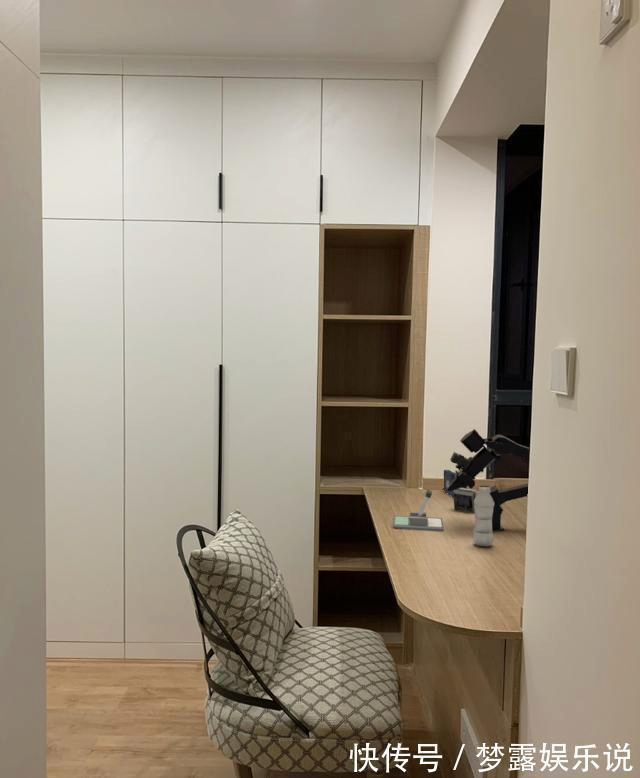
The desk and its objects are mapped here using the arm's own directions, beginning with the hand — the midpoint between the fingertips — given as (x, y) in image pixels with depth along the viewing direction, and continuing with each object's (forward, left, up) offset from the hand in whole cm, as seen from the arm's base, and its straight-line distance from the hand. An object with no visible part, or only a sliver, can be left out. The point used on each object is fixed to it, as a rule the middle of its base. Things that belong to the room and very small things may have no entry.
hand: (447, 490), depth 227 cm
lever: (+4, +10, -11) cm, 15 cm away
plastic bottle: (-22, -3, -13) cm, 26 cm away
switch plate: (+4, +10, -13) cm, 17 cm away
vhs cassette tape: (+40, -20, -14) cm, 46 cm away
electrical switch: (+18, -15, -13) cm, 27 cm away
